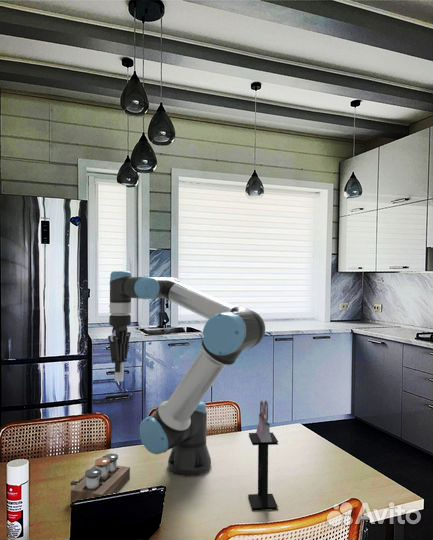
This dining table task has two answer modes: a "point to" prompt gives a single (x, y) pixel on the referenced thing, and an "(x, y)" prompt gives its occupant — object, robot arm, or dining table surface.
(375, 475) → the dining table surface
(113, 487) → the block
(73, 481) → the tactical tomahawk
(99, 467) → the plunger mid
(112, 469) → the plunger right
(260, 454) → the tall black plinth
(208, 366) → the robot arm
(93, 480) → the plunger left
